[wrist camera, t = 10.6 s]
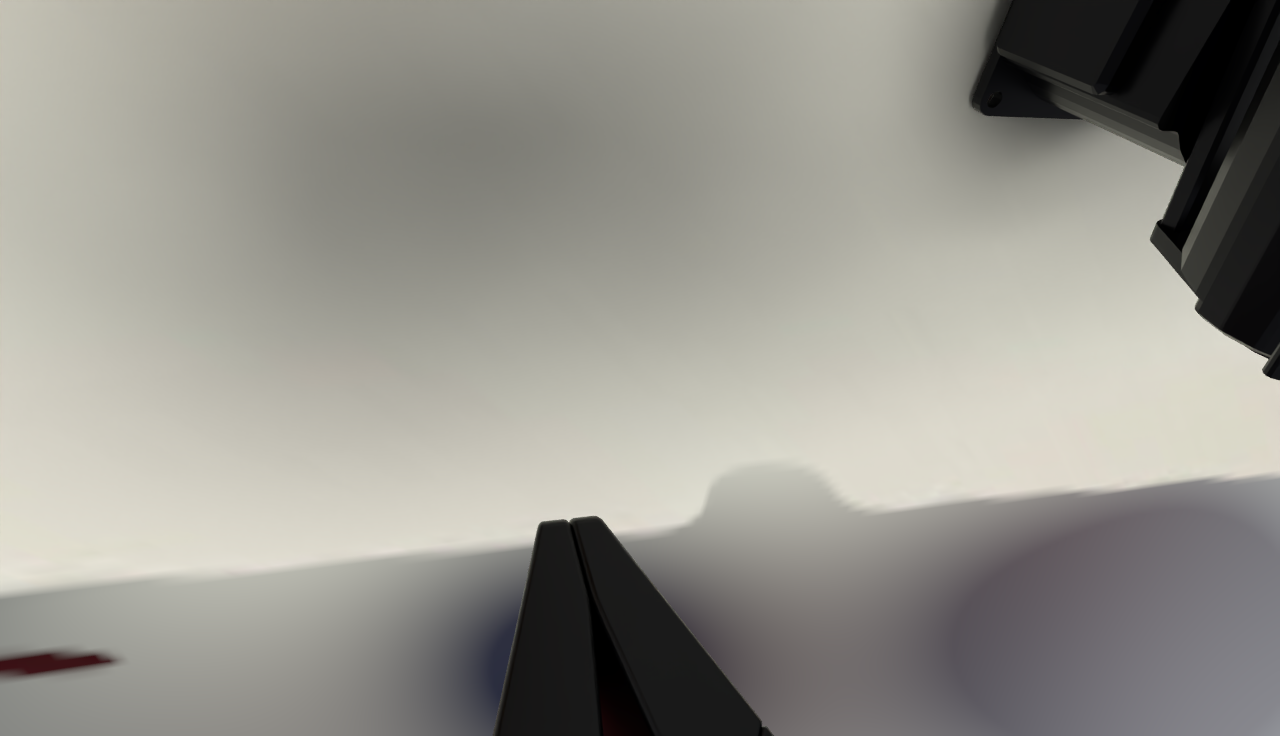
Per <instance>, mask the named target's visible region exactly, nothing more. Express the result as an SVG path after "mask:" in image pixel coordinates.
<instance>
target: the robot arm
mask: <svg viewBox="0 0 1280 736" xmlns="http://www.w3.org/2000/svg"><path fill="white" fill-rule="evenodd" d="M993 93H994V95H993V97H992V99H991V100H990V101H989V102H988V99H989V97H990V96H991V95H992V94H993ZM987 102H988V103H987ZM972 104H973V108H974V109H975V110H976V111H978V112H980V113H982V114H984V115H987V116H1006V117H1033V118H1059V119H1084V120H1086V121H1088V122H1090V123H1092V124H1095V125H1097V126H1099V127H1101V128H1103V129H1105V130H1107V131H1109V132H1112V133H1114V134H1116V135H1118V136H1120V137H1122V138H1124V139H1127V140H1129V141H1131V142H1133V143H1135V144H1137V145H1139V146H1142V147H1144V148H1146V149H1148V150H1150V151H1152V152H1154V153H1157V154H1159V155H1161V156H1163V157H1165V158H1167V159H1169V160H1172V161H1174V162H1176V163H1178V164H1180V165H1182V166H1184V169H1183V172H1182V174H1181V176H1180V179H1179V181H1178V183H1177V186H1176V188H1175V190H1174V193H1173V195H1172V198H1171V200H1170V202H1169V205H1168V207H1167V209H1166V212H1165V214H1164V216H1163V219H1161V220H1159V221H1157V223H1156V226H1155V228H1154V230H1153V233H1152V235H1151V237H1150V241H1151V242H1152V243H1153V244H1154V246H1155V247H1156V248H1157V249H1158V250H1159V252H1160V253H1161V254H1162V255H1163V256H1164V258H1165V259H1166V260H1167V261H1168V262H1169V263H1170V265H1171V266H1172V267H1173V268H1174V269H1175V271H1176V272H1177V273H1178V274H1179V275H1180V277H1181V278H1182V279H1183V280H1184V281H1185V282H1186V284H1187V285H1188V286H1189V287H1190V288H1191V290H1192V291H1193V292H1194V293H1195V295H1196V296H1197V297H1198V298H1199V299H1198V301H1197V303H1196V305H1195V310H1196V311H1197V313H1198V314H1199V315H1200V316H1201V317H1202V318H1203V319H1205V320H1206V321H1207V322H1209V323H1210V324H1211V325H1212V326H1214V327H1215V328H1216V329H1218V330H1219V331H1220V332H1222V333H1223V334H1224V335H1226V336H1228V337H1229V338H1231V339H1233V340H1235V341H1237V342H1239V343H1240V344H1242V345H1244V346H1246V347H1247V348H1249V349H1250V350H1251V351H1253V352H1255V353H1257V354H1259V355H1261V356H1263V357H1266V358H1268V359H1269V360H1268V361H1267V363H1266V364H1265V366H1264V368H1263V369H1262V371H1263V373H1264V374H1265V375H1266V376H1268V377H1270V378H1273V379H1276V380H1280V0H1013V1H1012V4H1011V6H1010V8H1009V11H1008V13H1007V16H1006V18H1005V21H1004V23H1003V25H1002V28H1001V30H1000V33H999V35H998V37H997V40H996V42H995V45H994V47H993V50H992V52H991V54H990V57H989V59H988V62H987V64H986V67H985V69H984V71H983V74H982V76H981V79H980V81H979V83H978V86H977V88H976V91H975V93H974V96H973V100H972ZM493 736H774V735H773V734H772V732H771V731H770V730H769V729H768V727H766V726H763V727H762V721H761V719H760V718H759V717H758V715H757V714H756V713H755V711H754V710H753V709H752V708H751V706H750V705H749V704H748V703H747V701H746V700H745V699H744V698H743V696H742V695H741V694H740V693H739V691H738V690H737V689H736V688H735V686H734V685H733V684H732V682H731V681H730V680H729V679H728V677H727V676H726V675H725V674H724V672H723V671H722V670H721V669H720V667H719V666H718V665H717V664H716V662H715V661H714V660H713V659H712V658H711V656H710V655H709V654H708V652H707V651H706V650H705V649H704V647H703V646H702V645H701V644H700V642H699V641H698V640H697V639H696V637H695V636H694V635H693V633H692V632H691V631H690V630H689V628H688V627H687V626H686V625H685V623H684V622H683V621H682V620H681V618H680V617H679V616H678V615H677V613H676V612H675V611H674V610H673V608H672V607H671V606H670V604H669V603H668V602H667V601H666V600H665V598H664V597H663V596H662V594H661V593H660V592H659V591H658V590H657V588H656V587H655V586H654V584H653V583H652V582H651V581H650V579H649V578H648V577H647V576H646V574H645V573H644V572H643V570H642V569H641V568H640V567H639V566H638V564H637V563H636V562H635V560H634V559H633V558H632V557H631V555H630V554H629V553H628V552H627V550H626V549H625V548H624V547H623V545H622V544H621V543H620V542H619V540H618V539H617V538H616V537H615V535H614V534H613V533H612V531H611V530H610V529H609V528H608V526H607V525H606V524H605V523H604V521H603V520H602V519H601V518H599V517H597V516H589V517H580V518H573V519H571V520H570V522H568V521H567V520H564V519H562V520H553V521H544V522H541V523H540V524H539V525H538V529H537V533H536V538H535V542H534V547H533V551H532V556H531V561H530V566H529V570H528V575H527V579H526V584H525V588H524V593H523V598H522V602H521V607H520V612H519V616H518V621H517V626H516V630H515V635H514V639H513V644H512V649H511V653H510V658H509V663H508V668H507V672H506V676H505V681H504V686H503V690H502V695H501V700H500V704H499V709H498V713H497V718H496V723H495V727H494V732H493Z"/></svg>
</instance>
